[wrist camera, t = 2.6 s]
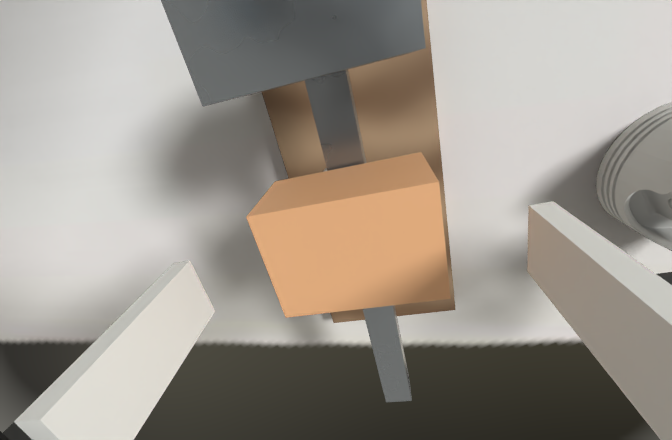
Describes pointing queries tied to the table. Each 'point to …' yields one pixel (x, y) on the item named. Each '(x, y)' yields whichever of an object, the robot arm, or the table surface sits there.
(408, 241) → the block
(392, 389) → the grey piece
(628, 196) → the engine component
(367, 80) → the hole plate
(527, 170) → the table surface
